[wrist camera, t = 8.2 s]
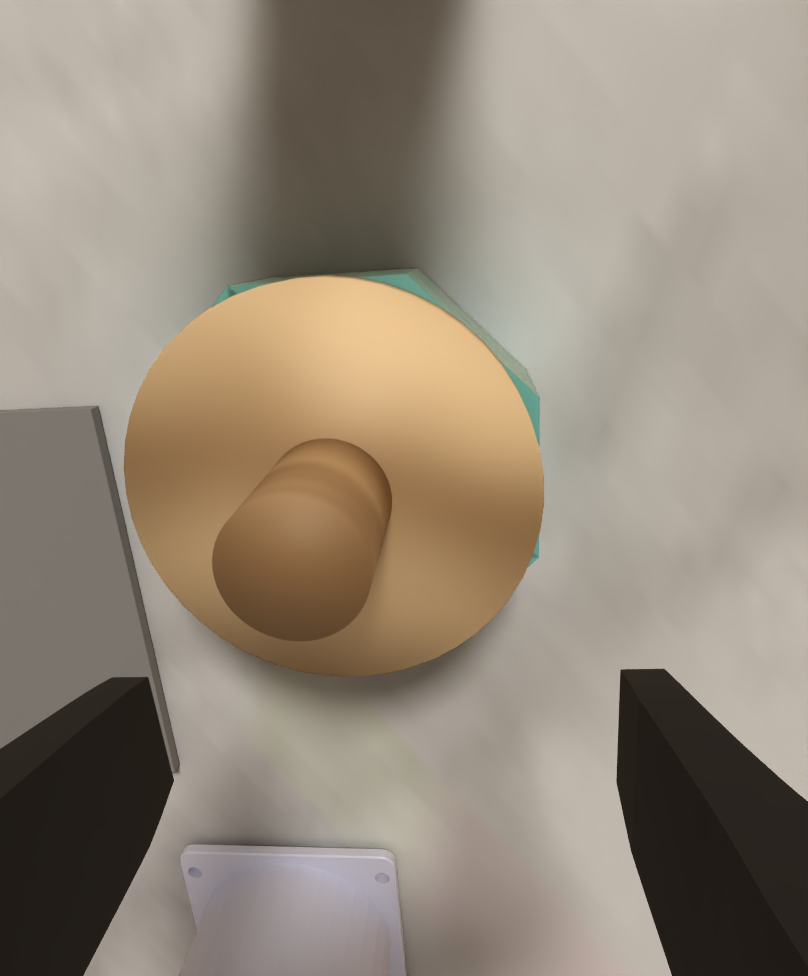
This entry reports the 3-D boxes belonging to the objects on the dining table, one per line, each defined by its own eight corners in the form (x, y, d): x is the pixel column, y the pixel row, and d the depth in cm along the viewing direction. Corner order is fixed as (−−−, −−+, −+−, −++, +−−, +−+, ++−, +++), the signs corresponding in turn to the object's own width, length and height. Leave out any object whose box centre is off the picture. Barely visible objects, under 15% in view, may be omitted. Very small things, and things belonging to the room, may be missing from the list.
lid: (527, 660, 17) (547, 799, 13) (171, 645, 18) (79, 770, 14) (553, 274, 14) (592, 289, 10) (115, 275, 14) (-28, 290, 10)
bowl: (526, 589, 20) (538, 655, 17) (225, 594, 21) (182, 657, 18) (526, 260, 17) (540, 265, 14) (170, 284, 18) (106, 293, 15)
